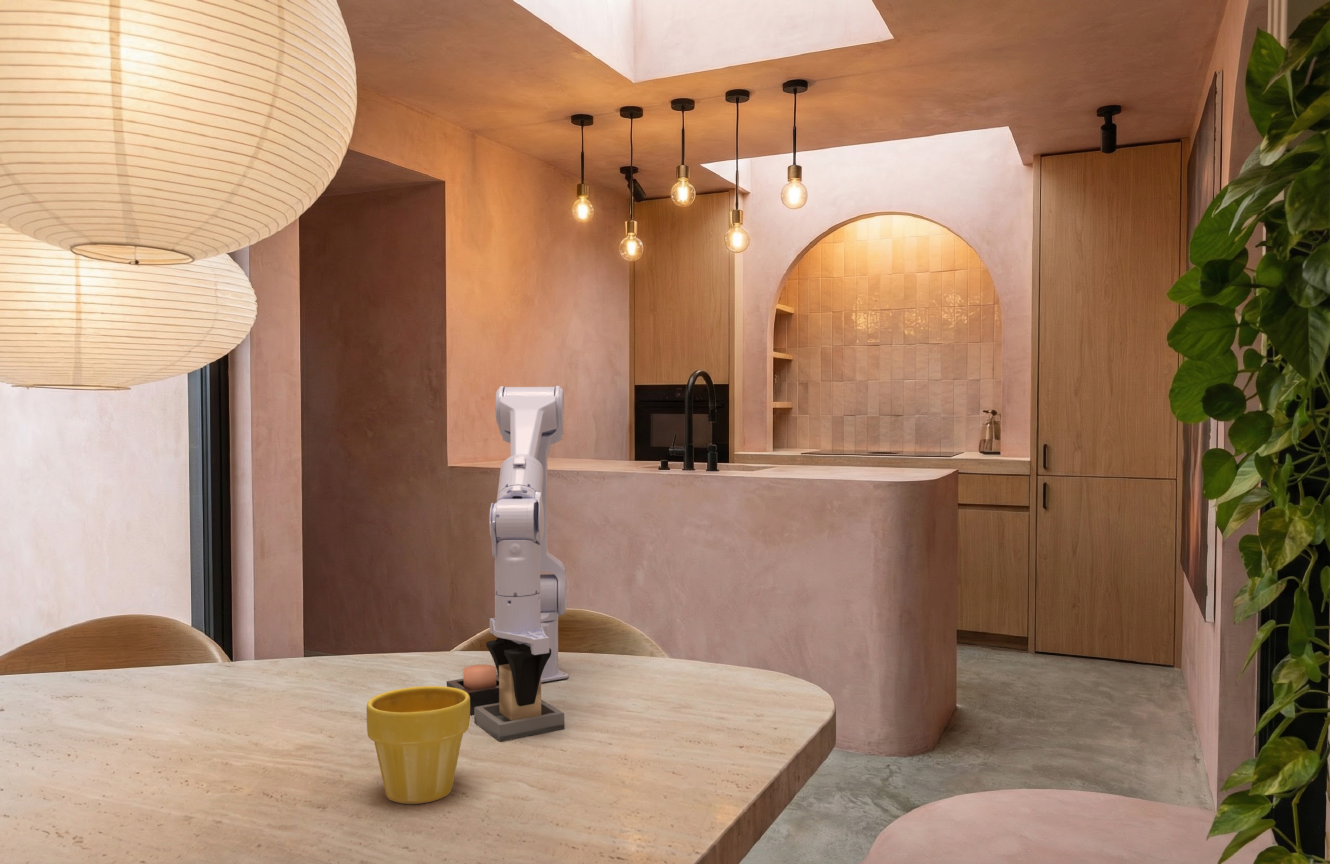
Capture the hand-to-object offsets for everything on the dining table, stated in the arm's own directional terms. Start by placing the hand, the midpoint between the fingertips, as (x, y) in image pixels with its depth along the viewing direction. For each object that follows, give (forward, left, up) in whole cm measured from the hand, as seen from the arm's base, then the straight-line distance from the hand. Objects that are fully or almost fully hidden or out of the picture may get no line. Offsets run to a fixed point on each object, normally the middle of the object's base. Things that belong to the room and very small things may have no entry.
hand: (518, 699), depth 117 cm
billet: (0, 0, -2) cm, 2 cm away
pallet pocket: (0, 0, -3) cm, 3 cm away
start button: (-11, -1, -1) cm, 11 cm away
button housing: (-11, -1, -3) cm, 12 cm away
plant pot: (+14, -17, -3) cm, 22 cm away
